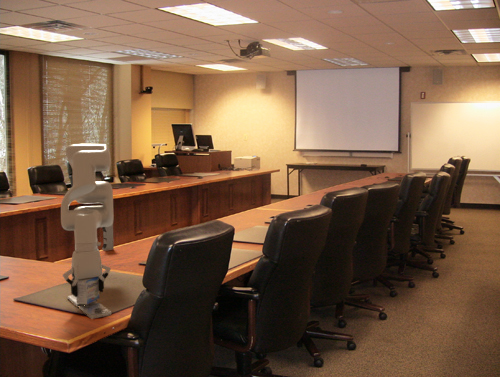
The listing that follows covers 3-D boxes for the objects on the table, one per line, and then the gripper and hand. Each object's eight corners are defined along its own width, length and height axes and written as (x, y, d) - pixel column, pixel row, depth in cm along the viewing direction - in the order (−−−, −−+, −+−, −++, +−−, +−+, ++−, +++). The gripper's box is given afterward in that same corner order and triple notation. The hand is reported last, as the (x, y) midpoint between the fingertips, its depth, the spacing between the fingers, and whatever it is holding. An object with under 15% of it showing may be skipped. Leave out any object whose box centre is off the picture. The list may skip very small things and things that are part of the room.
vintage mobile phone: (102, 249, 284) (100, 204, 282) (110, 248, 288) (108, 204, 285) (105, 251, 282) (104, 205, 279) (113, 249, 285) (112, 204, 283)
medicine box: (86, 305, 184) (86, 281, 183) (76, 303, 185) (75, 280, 184) (99, 298, 191) (98, 275, 191) (89, 297, 193) (88, 274, 192)
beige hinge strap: (67, 299, 197) (67, 294, 197) (85, 295, 201) (85, 291, 201) (91, 319, 175) (91, 313, 175) (111, 314, 179) (111, 309, 179)
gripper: (105, 242, 194) (107, 287, 196) (58, 248, 184) (60, 295, 186) (113, 245, 188) (114, 291, 190) (65, 252, 178) (66, 300, 180)
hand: (87, 293), depth 188 cm, fingers closed on medicine box, 9 cm apart
